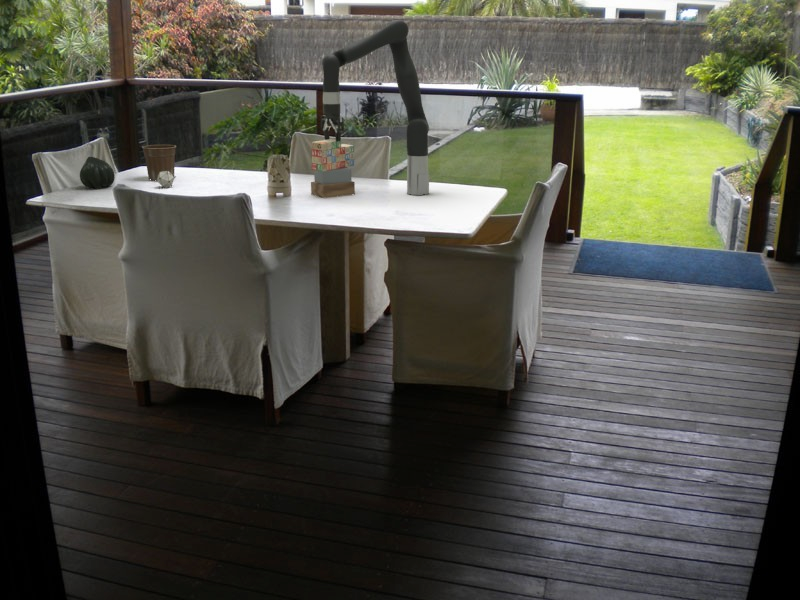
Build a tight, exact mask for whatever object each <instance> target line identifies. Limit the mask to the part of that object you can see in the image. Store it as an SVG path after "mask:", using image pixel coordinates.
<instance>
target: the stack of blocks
mask: <svg viewBox="0 0 800 600" xmlns="http://www.w3.org/2000/svg"><path fill="white" fill-rule="evenodd" d="M353 166H355V145H353V144H346V143H342V140H341V141H338V142H337V141H336V139H331V138H330V139H328V140H325V139H323V140H322V139H321V140H316V141H311V170H312V171H314V170H316V171H328V170H333V169H338V168H344V167H348V168H350V167H353Z"/></svg>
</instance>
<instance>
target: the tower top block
mask: <svg viewBox="0 0 800 600" xmlns="http://www.w3.org/2000/svg"><path fill="white" fill-rule="evenodd" d="M313 172H314V173H313V174H314V175H313V176H314V178H313V179H314V182H317V183H320V184H335V183H347V182H352V181H353V179H352V168H351V167H344V168H338V169H333V170H328V171H316V170H313Z"/></svg>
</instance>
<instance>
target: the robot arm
mask: <svg viewBox="0 0 800 600" xmlns="http://www.w3.org/2000/svg"><path fill="white" fill-rule="evenodd" d="M408 35H409V27H408V25H407V23H406V22H405V21H404V20H402V19H394V20H391V21H390V22H388V23H387V25H386V26H384V27H383V28H382V29H380V30H378V31H377V32H375V33H373V34H371V35H369V36H366V37H363V38H361V39H359V40H357V41H354V42H352V43H350V44H348V45H346V46H344V47H342V48H341V49H339V50H336V51H333V52H331V53H329V54H327V55H325V56H324V57H323V58H322V60H321V66H322V69H323V81H322V113H323V115H320V129H321V130H322V131H323V135H324V136H323V137H324V140H328V139H331V137H330V128H331V127H332V128H333V130H334V132H335V135H334V136H335V140H336V141H337V142H338V141H341V142H342V132H344V131H345V125H344V124H345V123H344V117H343V116H341V117H340V116H339V115H340V114H341V93H340V68H341V67H343V66H345V65H347V64H351V63H353V62H356V61H358V60H360V59H362V58H364V57H366V56H368V55H370V54H371V53H373V52H374V51H377V50H378V49H381V48H383V47H386V46H387V45H388V46H389V48H390V51H391V55H392V61H393V68H394V74H395V78H396V84H397V87H398V91H399V94H400V98H401V100H402V102H403V104H404V107H405V110H406V114H407V121H408V124H407V126H406V151H407V153H406V154H407V160H406V162H407V163H406V170H407V171H406V194H407V193H408V194H407V195H410V194H411V195H413V196H423V194H425V195H429V194H430V172H429V146H428V145H429V142H428V137H429V136H428V135H429V130H430V127H429V123H428V120H427V116H426V114H425V110H424V107H423V102H422V95H421V88H420V83H419V77H418V72H417V69H416V67H415V65H414V61H413V59H412V57H411V54H410V51H409V50H410V49H409V45H408V41H407V40H408V38H407V36H408ZM428 193H429V194H428Z"/></svg>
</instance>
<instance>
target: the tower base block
mask: <svg viewBox="0 0 800 600" xmlns="http://www.w3.org/2000/svg"><path fill="white" fill-rule="evenodd" d="M355 185H356V183H355V181H353V180H352V182H347V183H335V184H320V183H317V182H315V181H311V182H310V193H311V195H312V194H313V195H312V196H315V195H316V197H318V196H319V198H322V199H327V198H328V199H329V198H335V197H337V196H338V197H344V196H353V195H352V194H354V195H355V194H356V193H355V192H356V191H355V187H356V186H355Z"/></svg>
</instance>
